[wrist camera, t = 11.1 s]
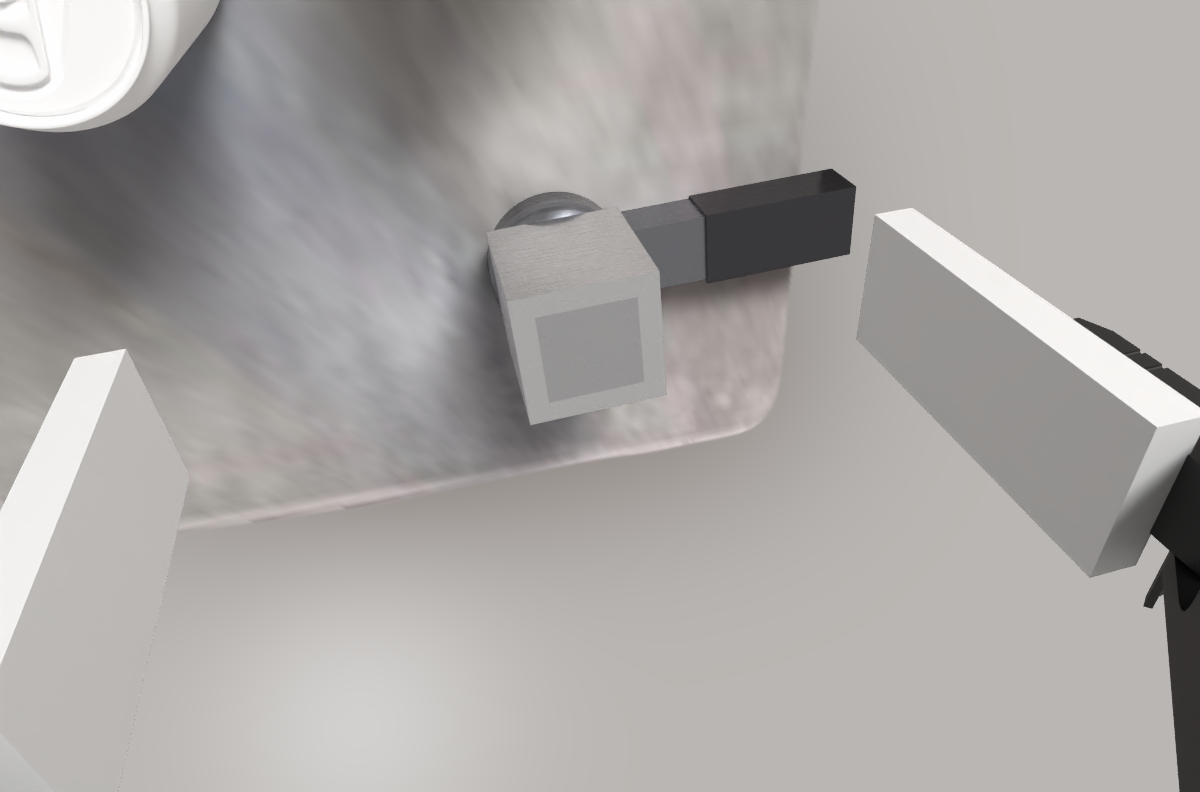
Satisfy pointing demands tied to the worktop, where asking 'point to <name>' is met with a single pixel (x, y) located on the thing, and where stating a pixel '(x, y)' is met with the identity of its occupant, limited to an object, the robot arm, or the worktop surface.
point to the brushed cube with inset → (580, 313)
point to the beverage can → (89, 57)
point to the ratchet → (724, 226)
